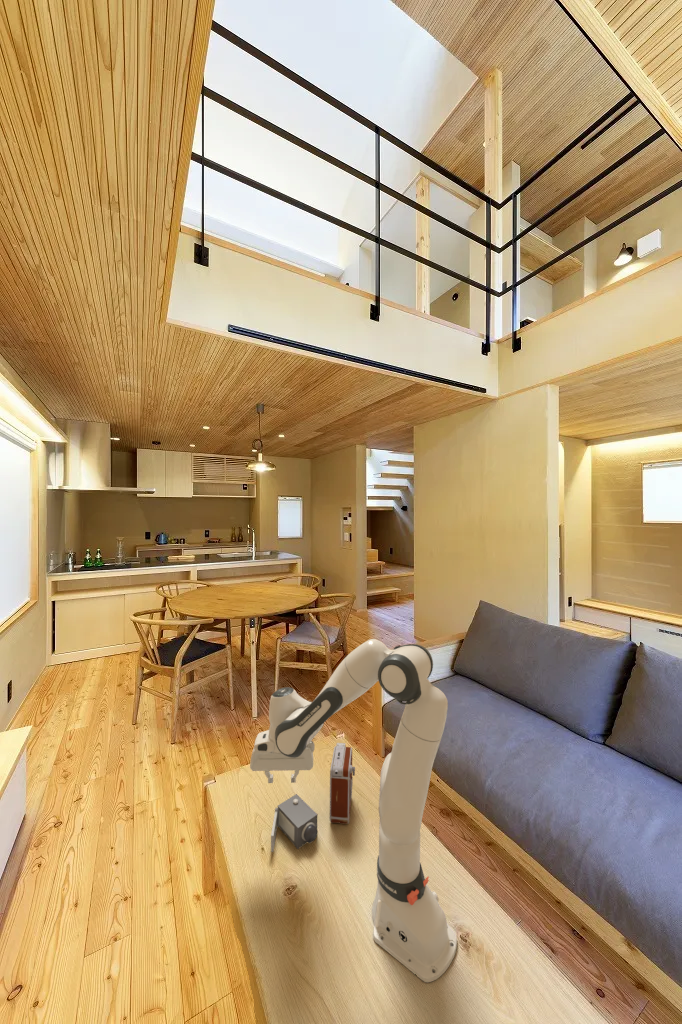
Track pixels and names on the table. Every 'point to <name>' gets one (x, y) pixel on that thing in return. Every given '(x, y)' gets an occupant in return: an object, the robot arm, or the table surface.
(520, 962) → the table surface
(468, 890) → the table surface
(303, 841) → the camera body
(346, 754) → the cine camera
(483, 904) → the table surface
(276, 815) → the side door
